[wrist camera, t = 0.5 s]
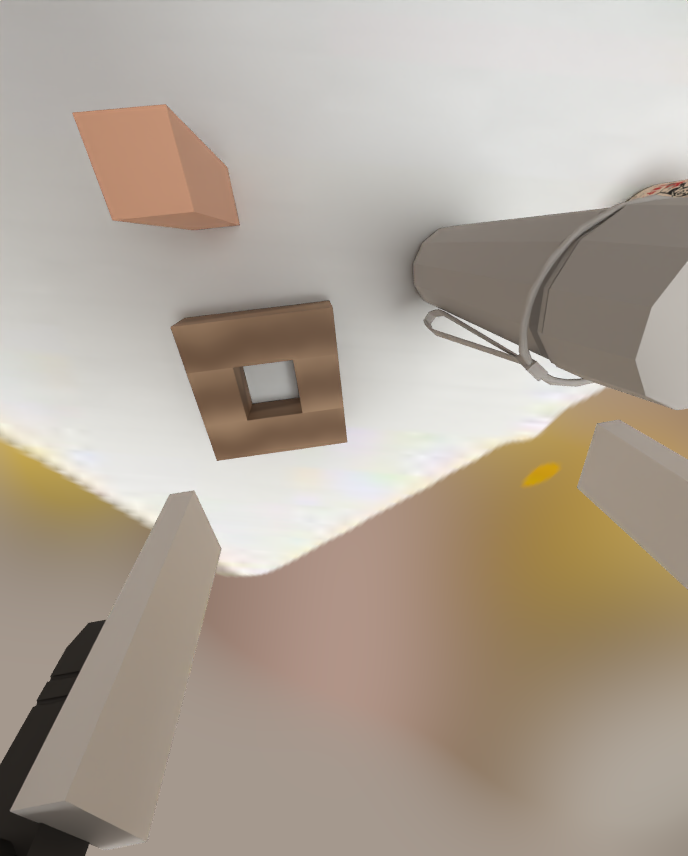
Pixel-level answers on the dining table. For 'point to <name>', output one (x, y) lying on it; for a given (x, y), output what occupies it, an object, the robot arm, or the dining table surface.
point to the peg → (156, 169)
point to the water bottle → (573, 293)
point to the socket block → (258, 344)
